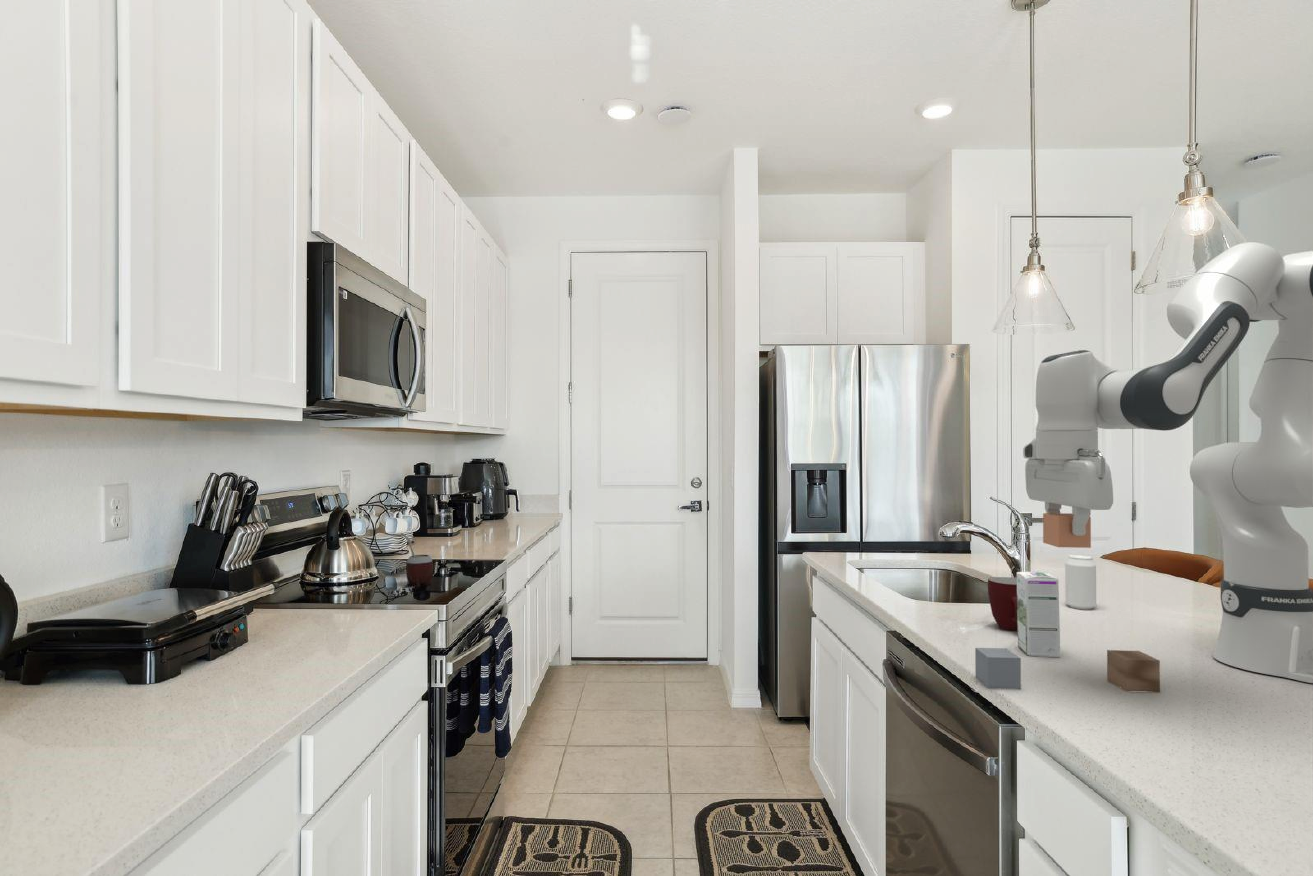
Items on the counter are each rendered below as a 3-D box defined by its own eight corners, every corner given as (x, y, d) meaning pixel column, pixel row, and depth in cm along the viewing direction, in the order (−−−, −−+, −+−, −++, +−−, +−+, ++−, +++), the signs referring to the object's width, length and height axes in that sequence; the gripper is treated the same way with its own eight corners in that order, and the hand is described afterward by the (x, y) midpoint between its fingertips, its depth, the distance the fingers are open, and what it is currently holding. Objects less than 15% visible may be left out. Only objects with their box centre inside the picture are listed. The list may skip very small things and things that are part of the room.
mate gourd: (435, 582, 189) (435, 528, 189) (429, 588, 181) (429, 532, 181) (407, 583, 188) (407, 529, 188) (400, 589, 180) (400, 533, 180)
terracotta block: (1073, 543, 114) (1073, 513, 114) (1090, 547, 109) (1090, 516, 109) (1043, 542, 114) (1043, 513, 114) (1058, 547, 109) (1058, 516, 109)
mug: (1045, 637, 135) (1045, 587, 135) (1003, 637, 135) (1003, 587, 135) (1020, 623, 145) (1019, 577, 145) (981, 623, 146) (981, 576, 146)
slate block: (1006, 678, 112) (1006, 648, 112) (1020, 689, 107) (1020, 658, 107) (975, 677, 112) (975, 647, 112) (988, 688, 107) (988, 657, 107)
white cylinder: (1096, 611, 155) (1096, 559, 155) (1064, 608, 158) (1064, 557, 159) (1096, 606, 160) (1096, 555, 160) (1065, 603, 164) (1065, 553, 164)
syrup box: (1061, 658, 122) (1061, 577, 122) (1025, 656, 123) (1025, 576, 123) (1049, 648, 127) (1049, 571, 128) (1015, 646, 129) (1015, 570, 129)
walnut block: (1139, 681, 110) (1138, 650, 110) (1159, 692, 105) (1159, 660, 105) (1107, 680, 110) (1107, 650, 111) (1126, 692, 106) (1126, 660, 106)
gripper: (1125, 449, 101) (1125, 541, 101) (1054, 448, 122) (1054, 525, 121) (1081, 449, 102) (1082, 541, 101) (1018, 448, 122) (1018, 524, 122)
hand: (1066, 532), depth 112 cm, fingers closed on terracotta block, 5 cm apart
